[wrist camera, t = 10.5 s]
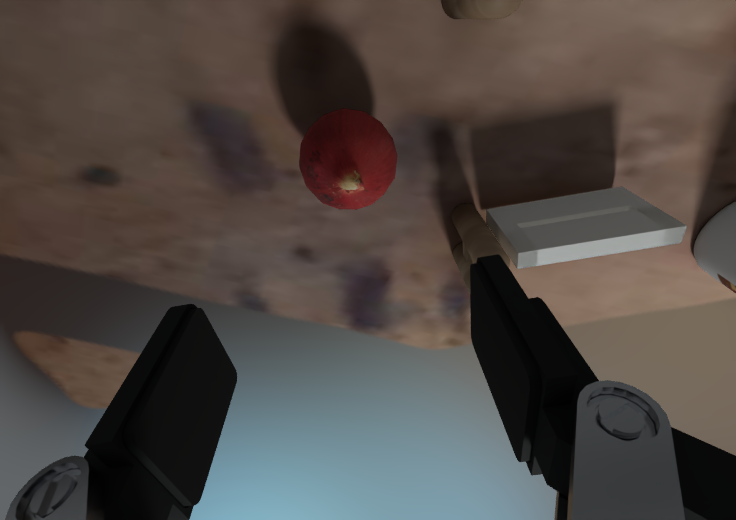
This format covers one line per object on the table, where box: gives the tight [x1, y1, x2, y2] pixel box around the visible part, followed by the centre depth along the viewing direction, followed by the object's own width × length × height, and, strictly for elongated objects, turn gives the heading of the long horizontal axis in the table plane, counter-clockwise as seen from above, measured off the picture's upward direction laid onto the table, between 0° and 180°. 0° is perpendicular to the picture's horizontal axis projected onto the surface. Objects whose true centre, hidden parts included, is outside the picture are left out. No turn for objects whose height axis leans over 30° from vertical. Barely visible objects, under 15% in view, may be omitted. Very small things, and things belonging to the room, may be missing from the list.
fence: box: [442, 0, 522, 293], centre depth 22 cm, size 2×24×7 cm, turn 9°
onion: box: [299, 108, 397, 209], centre depth 22 cm, size 6×6×8 cm
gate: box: [486, 187, 687, 269], centre depth 25 cm, size 10×1×6 cm, turn 99°
